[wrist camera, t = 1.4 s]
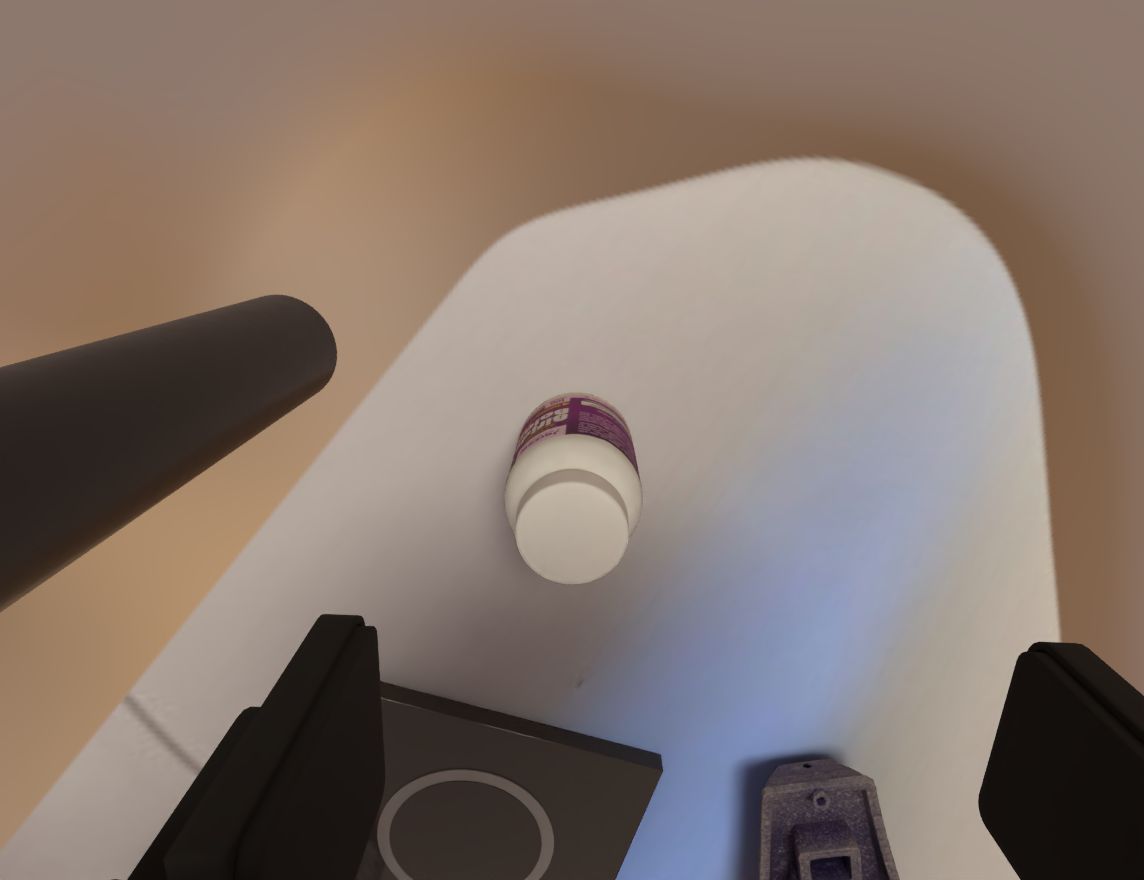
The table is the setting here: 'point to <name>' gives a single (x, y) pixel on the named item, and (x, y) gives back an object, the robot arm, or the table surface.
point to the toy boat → (822, 825)
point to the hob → (500, 796)
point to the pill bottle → (573, 489)
